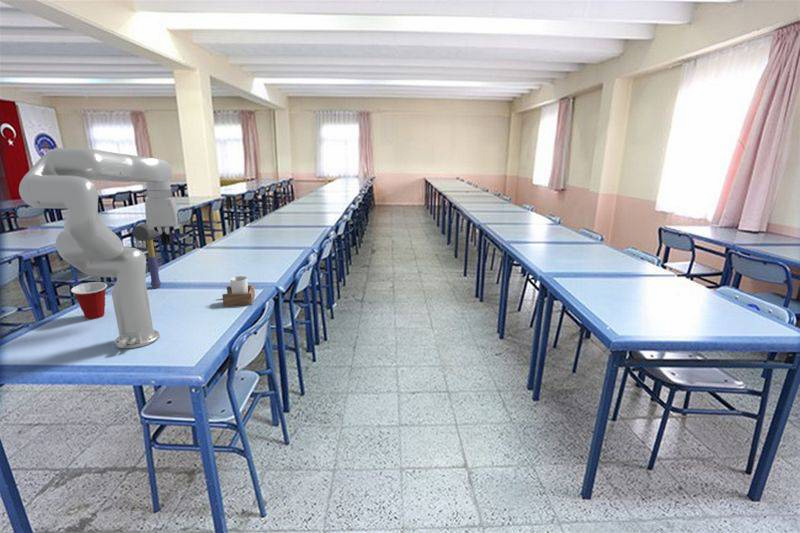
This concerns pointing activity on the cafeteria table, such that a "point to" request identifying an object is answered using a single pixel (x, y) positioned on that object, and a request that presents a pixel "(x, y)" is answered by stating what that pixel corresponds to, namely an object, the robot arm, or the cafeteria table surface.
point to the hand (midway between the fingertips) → (166, 244)
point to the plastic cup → (91, 298)
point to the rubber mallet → (149, 250)
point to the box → (239, 297)
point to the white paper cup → (239, 284)
